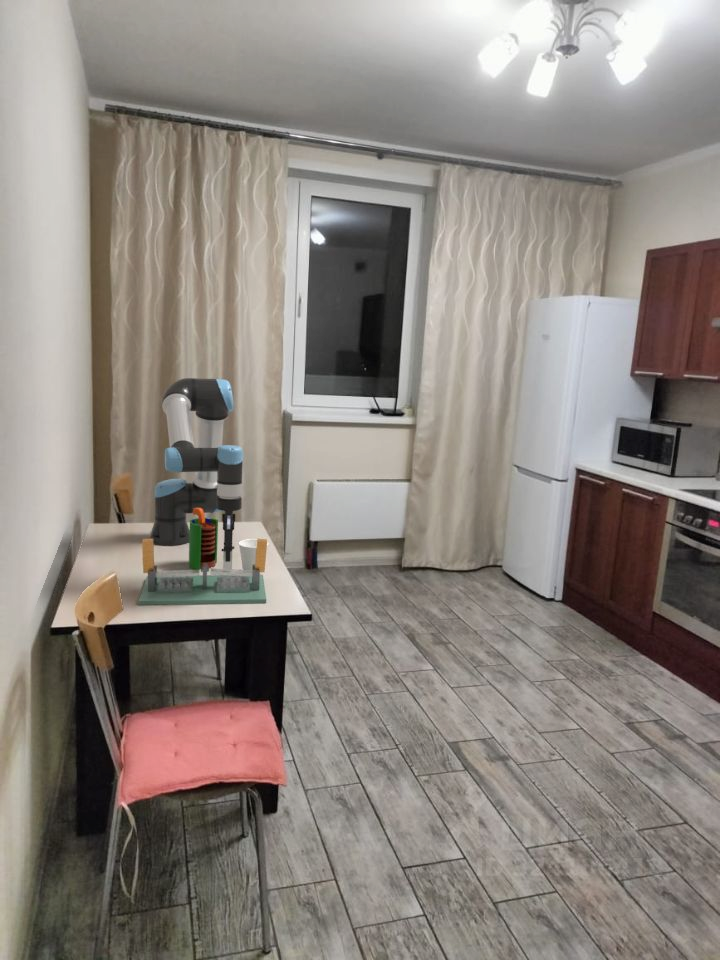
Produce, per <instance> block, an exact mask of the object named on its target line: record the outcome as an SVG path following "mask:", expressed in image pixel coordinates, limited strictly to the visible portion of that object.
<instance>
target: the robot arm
mask: <svg viewBox="0 0 720 960" xmlns="http://www.w3.org/2000/svg"><path fill="white" fill-rule="evenodd" d="M232 391H233V390H232V386H231V383H230V381H228V380H227V379H222V378H221V379H220V378H219V379H218V378H197V377H196V378H195V377H193V378H192V377H187V378H185V377H184V378H181V379H178V380H176V381H174V382H172V384H170V385H169V386H168V388H166V390H165V391H164V393H163V395H162V399H161V407H162V410H163V413H164V414H165V415H166V425H167V431H168V433H167V434H168V442H169V447H166V448H165V450H164V468H165V470H166V471H167V472H171V473H190V472H191V473H196V474H197V475H195V476H194V477H193V478H192V482H190V483H189V482H188V481H187V480H186V479H184V478H172V479H166V480H162V481H160V482H157V484H156V485H155V487H154V495H153V497H154V522H153V525H152V527H151V531H150V534H149V539H153V542H154V545H158V546H181V545H185V544H187V543H189V534H190V526H189V524H188V522H187V514H193V509H194V508H202V509H203V511H204V514H214V513H221V512H223V511H224V513H222V516H221V520H222V521H221V522H222V530H223V531H224V534H223V536H224V537H223V539H224V540H223V548H221V552H223V554H222V555H223V556H222V557H223V559H222V560H223V561H222V567H223V568H222V569H223V571H232V569H233V550H235V546H233V535H234V534H233V531H235V522H236V513H233V512H235V511H236V512H237V511H240V510H241V509H242V503H243V502H242V496H243V465H244V463H243V461H244V456H243V455H244V454H243V453H244V451H243V448H242V447H241V446H239V445H233V444H226V445H223V438H224V421H225V420H227V419H228V418H229V413H231V412H232V413H233V412H234V398H233V392H232ZM190 412H195V416H196V418H198V419H199V425H198V426H199V428H198V447H195V442H194V436H193V429H192V423H191V414H190Z"/></svg>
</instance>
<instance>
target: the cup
mask: <svg viewBox="0 0 720 960" xmlns="http://www.w3.org/2000/svg"><path fill="white" fill-rule="evenodd" d="M257 539H258V538H247V539H243V540H240V541H238V545H239V552H240V557H241V564H242V570H252V567H253V564H255V557H256V546H257ZM268 546H269V542H268V541H267V547H268ZM267 550H268V548H267V549H266V551H267ZM260 575H263V572H260Z"/></svg>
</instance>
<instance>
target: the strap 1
mask: <svg viewBox="0 0 720 960" xmlns="http://www.w3.org/2000/svg"><path fill="white" fill-rule="evenodd" d="M154 545H155V544H154V542H153V539H150V538H142V541H141V547H142V550H141V551H142V553H141V554H142V573H143V574H148V571H151V570H155V568H154V565H155V553H154V552H155V549H154V548H155V546H154ZM200 572H201V569H200V570H196V569H180V570H177V569H176V570H157V571H155V578H157V577H183V576H199V575H200V574H201V573H200Z"/></svg>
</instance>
